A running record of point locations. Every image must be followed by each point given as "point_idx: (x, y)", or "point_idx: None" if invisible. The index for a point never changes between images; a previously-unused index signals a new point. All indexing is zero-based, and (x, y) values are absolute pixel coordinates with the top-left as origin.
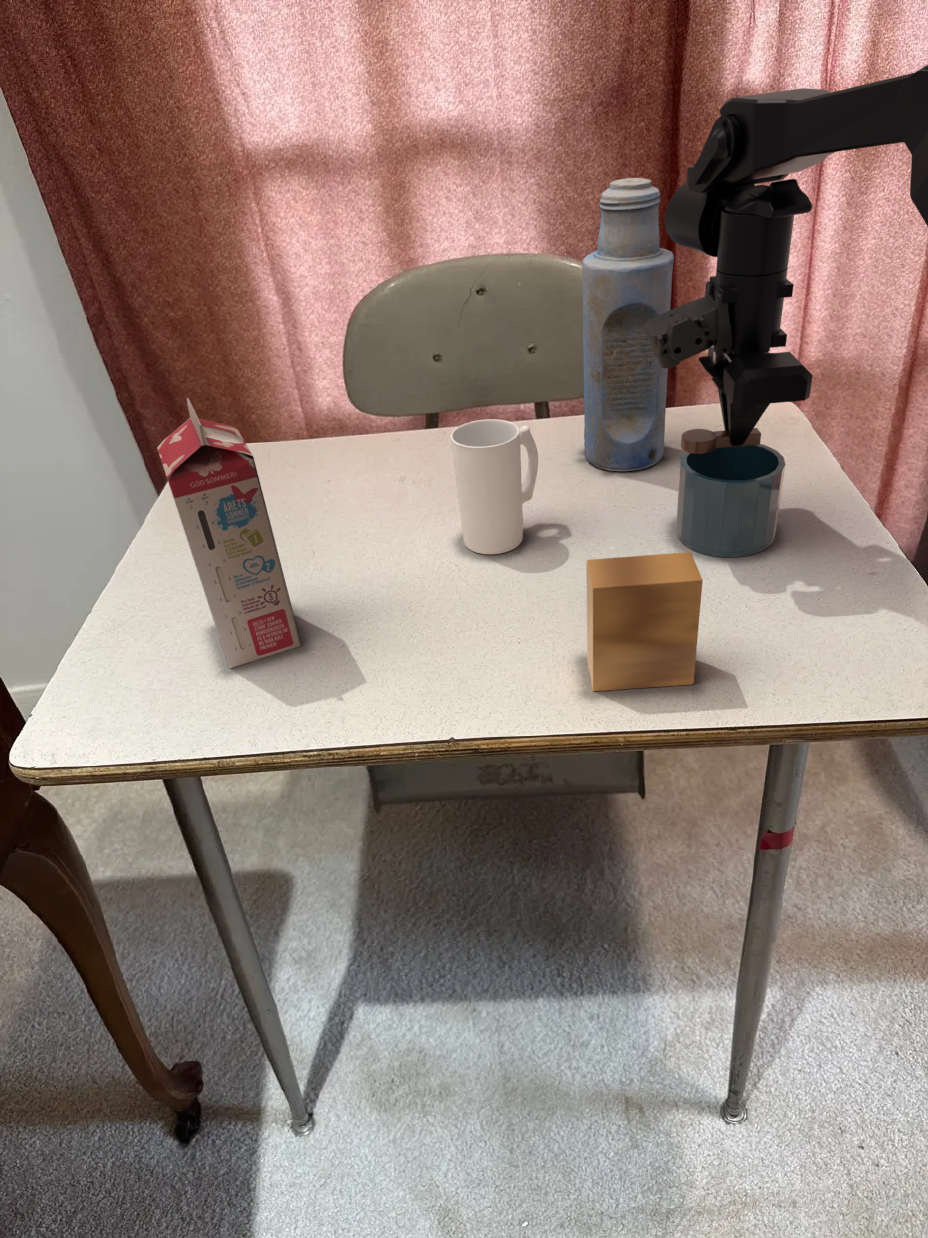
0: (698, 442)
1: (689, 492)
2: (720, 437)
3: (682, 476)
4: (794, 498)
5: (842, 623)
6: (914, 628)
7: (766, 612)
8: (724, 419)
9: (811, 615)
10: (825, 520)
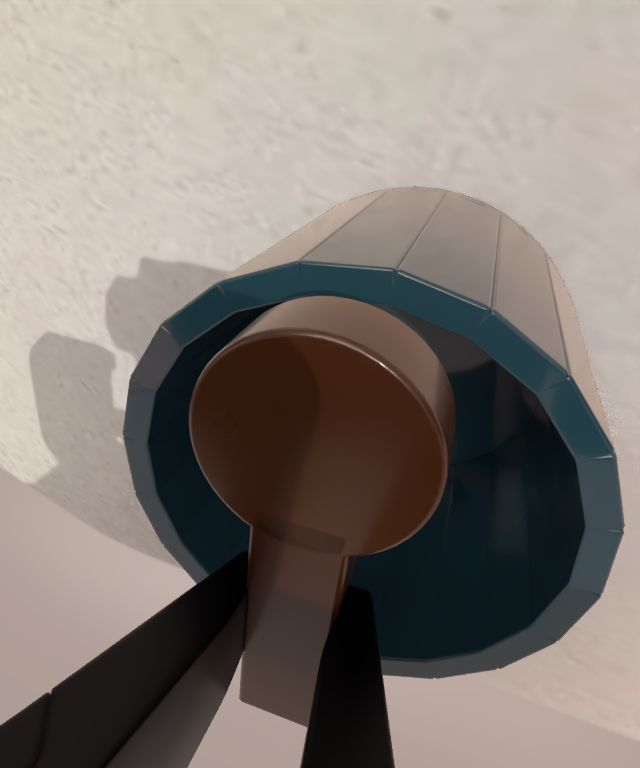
0: (193, 394)
1: (298, 242)
2: (251, 543)
3: (361, 247)
4: None
5: (12, 379)
6: (8, 467)
7: (38, 262)
8: (322, 681)
9: (32, 343)
10: None
